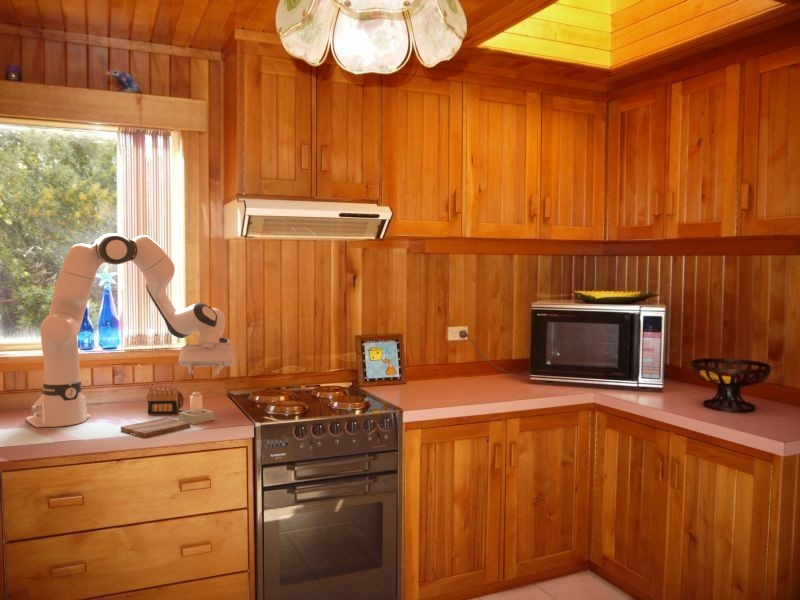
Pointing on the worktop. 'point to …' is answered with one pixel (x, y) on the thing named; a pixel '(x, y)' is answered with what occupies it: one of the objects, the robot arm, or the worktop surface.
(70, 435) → the worktop surface
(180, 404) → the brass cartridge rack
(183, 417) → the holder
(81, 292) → the robot arm
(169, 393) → the ammunition clip
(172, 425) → the cutting board
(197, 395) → the pepper mill
